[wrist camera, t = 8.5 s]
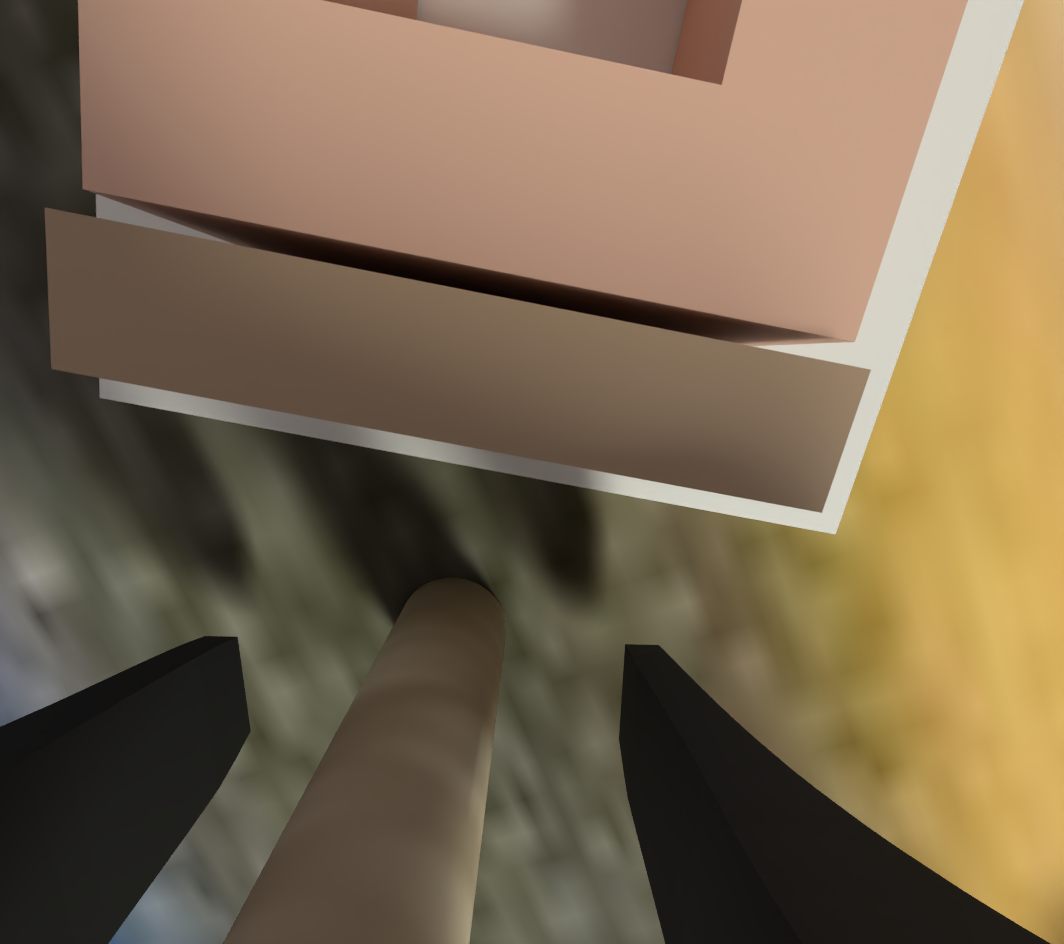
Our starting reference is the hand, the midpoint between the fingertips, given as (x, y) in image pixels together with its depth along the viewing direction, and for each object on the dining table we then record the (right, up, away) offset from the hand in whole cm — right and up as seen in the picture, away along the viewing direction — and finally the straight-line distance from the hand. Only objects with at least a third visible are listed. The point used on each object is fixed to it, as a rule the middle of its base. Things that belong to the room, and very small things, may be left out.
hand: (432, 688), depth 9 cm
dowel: (0, +1, +2) cm, 2 cm away
